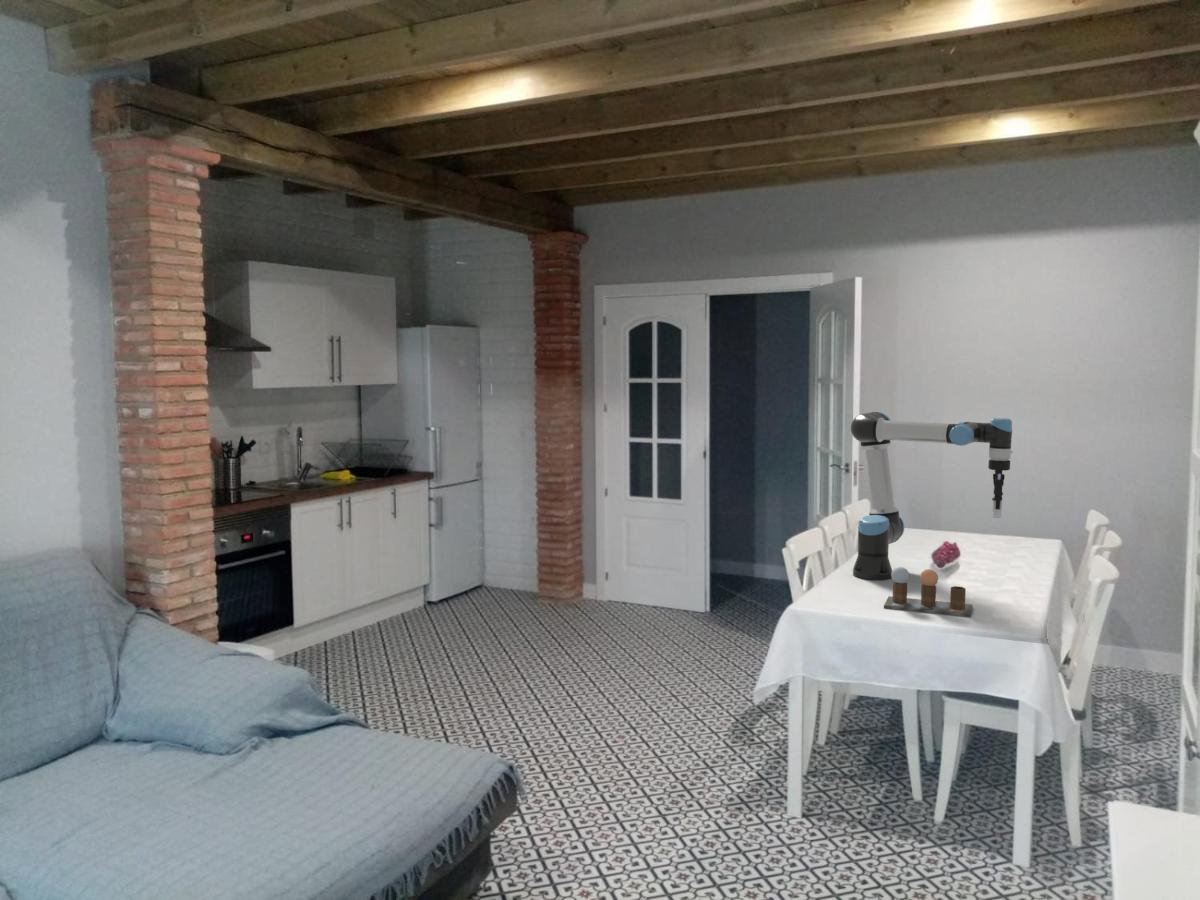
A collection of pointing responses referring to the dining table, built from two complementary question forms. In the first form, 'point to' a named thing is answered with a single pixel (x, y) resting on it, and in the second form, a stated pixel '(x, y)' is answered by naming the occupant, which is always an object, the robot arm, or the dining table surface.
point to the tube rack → (929, 601)
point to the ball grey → (900, 575)
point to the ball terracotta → (929, 578)
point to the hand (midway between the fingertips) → (996, 514)
